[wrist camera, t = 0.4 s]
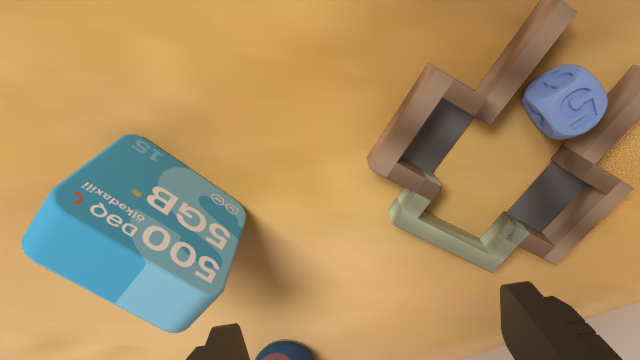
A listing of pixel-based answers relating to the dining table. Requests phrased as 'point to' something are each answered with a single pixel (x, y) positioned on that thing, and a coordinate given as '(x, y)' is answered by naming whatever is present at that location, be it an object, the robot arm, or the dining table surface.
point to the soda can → (285, 351)
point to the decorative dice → (565, 101)
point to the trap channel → (485, 104)
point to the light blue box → (139, 233)
